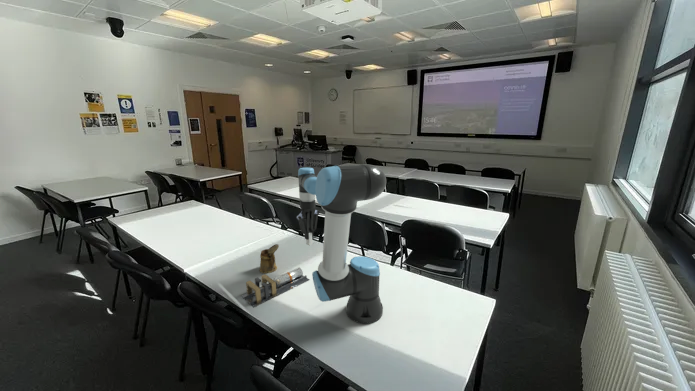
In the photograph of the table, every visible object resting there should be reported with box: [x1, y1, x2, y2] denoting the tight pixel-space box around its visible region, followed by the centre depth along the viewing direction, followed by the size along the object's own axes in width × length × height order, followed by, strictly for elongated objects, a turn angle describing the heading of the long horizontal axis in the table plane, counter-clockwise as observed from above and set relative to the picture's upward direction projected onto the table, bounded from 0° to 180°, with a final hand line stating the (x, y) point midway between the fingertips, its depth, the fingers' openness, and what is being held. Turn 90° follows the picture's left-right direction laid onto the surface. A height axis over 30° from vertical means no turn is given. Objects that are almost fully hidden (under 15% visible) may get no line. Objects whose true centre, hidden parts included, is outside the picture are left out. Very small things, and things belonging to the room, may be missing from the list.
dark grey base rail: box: [240, 274, 311, 308], centre depth 133 cm, size 12×30×2 cm, turn 135°
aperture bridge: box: [254, 277, 269, 299], centre depth 127 cm, size 9×2×6 cm, turn 45°
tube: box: [272, 267, 304, 287], centre depth 137 cm, size 14×4×4 cm, turn 135°
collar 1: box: [245, 280, 262, 304], centre depth 124 cm, size 9×2×6 cm, turn 45°
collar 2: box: [260, 273, 277, 296], centre depth 129 cm, size 9×2×6 cm, turn 45°
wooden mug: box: [259, 243, 280, 274], centre depth 146 cm, size 9×14×18 cm, turn 46°
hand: (309, 244), depth 142 cm, fingers closed
